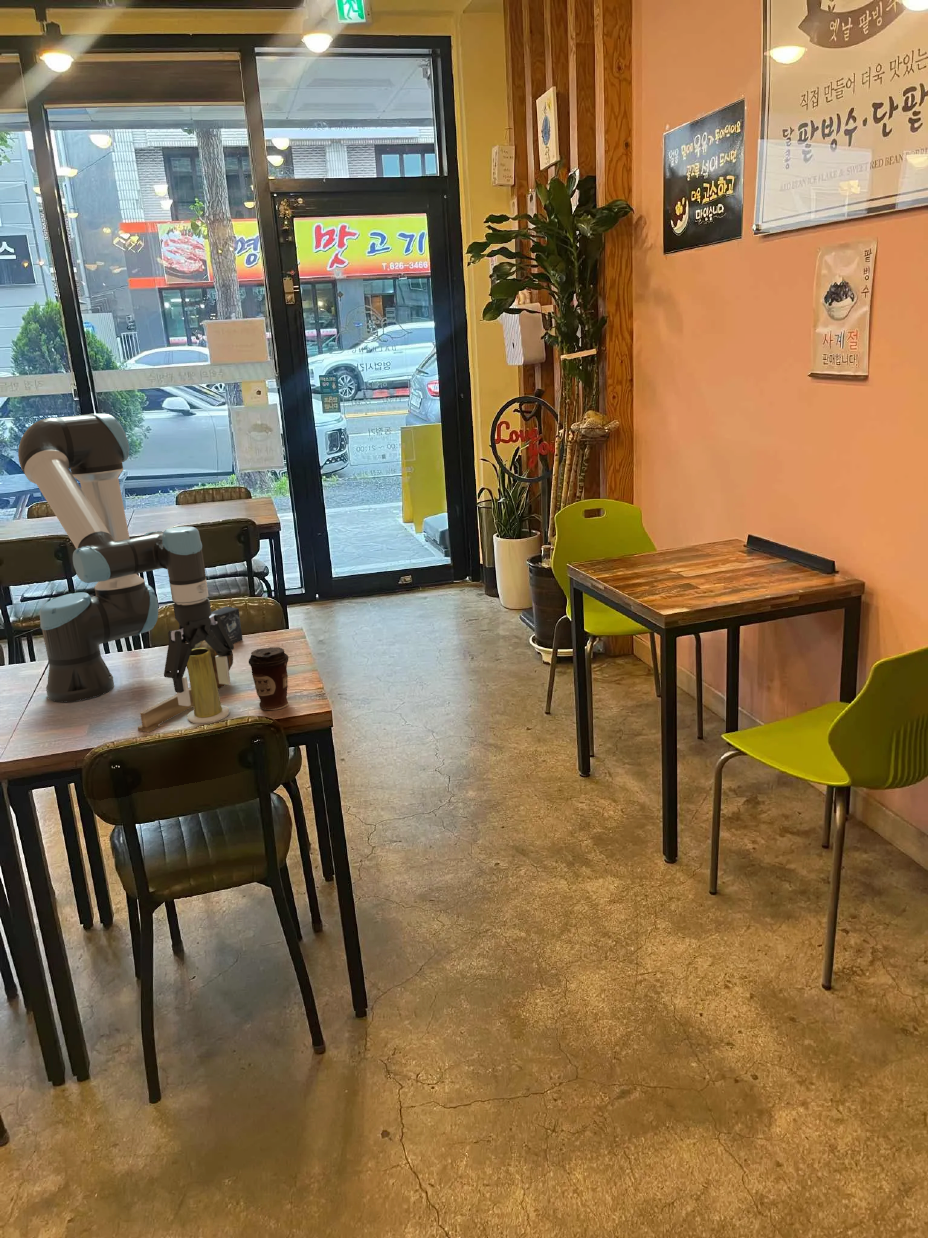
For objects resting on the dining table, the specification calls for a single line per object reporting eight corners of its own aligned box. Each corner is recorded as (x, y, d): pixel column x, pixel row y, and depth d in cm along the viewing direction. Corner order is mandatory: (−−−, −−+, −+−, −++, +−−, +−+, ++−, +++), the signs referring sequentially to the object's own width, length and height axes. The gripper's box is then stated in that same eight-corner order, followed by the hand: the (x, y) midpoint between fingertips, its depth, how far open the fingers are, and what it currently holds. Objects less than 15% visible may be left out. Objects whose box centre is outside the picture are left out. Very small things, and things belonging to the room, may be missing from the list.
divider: (138, 730, 192) (135, 713, 191) (198, 698, 208) (195, 682, 207) (148, 732, 191) (145, 715, 189) (208, 700, 207) (205, 683, 206)
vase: (196, 720, 194) (184, 658, 190) (192, 711, 199) (181, 650, 195) (224, 713, 196) (213, 652, 192) (220, 704, 201) (209, 645, 197)
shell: (224, 693, 210) (217, 645, 207) (182, 692, 213) (174, 645, 209) (244, 677, 220) (238, 631, 217) (203, 676, 223) (196, 630, 219)
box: (218, 650, 243) (213, 617, 240) (204, 647, 246) (199, 614, 243) (243, 640, 250) (239, 607, 247) (229, 638, 253) (225, 605, 250)
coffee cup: (273, 716, 195) (266, 659, 192) (246, 710, 200) (238, 654, 196) (300, 702, 202) (294, 647, 198) (273, 696, 207) (266, 643, 203)
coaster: (178, 720, 196) (178, 718, 196) (206, 705, 204) (206, 703, 203) (211, 725, 192) (210, 723, 192) (238, 710, 200) (237, 707, 200)
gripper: (163, 617, 178) (179, 717, 184) (241, 586, 199) (254, 676, 205) (135, 615, 181) (152, 713, 187) (215, 584, 202) (228, 673, 208)
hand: (205, 694), depth 196 cm, fingers open, 12 cm apart
